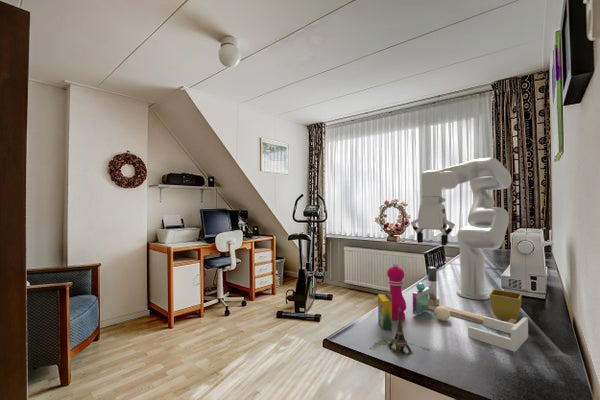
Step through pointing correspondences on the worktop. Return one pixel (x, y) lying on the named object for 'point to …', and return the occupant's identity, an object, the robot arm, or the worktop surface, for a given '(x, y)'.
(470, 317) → the oak rail
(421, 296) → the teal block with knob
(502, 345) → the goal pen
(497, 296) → the flower pot
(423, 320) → the worktop surface
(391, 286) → the pepper mill
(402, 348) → the eiffel tower figurine
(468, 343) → the worktop surface
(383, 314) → the crayon box
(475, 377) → the worktop surface
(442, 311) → the ball
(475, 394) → the worktop surface
